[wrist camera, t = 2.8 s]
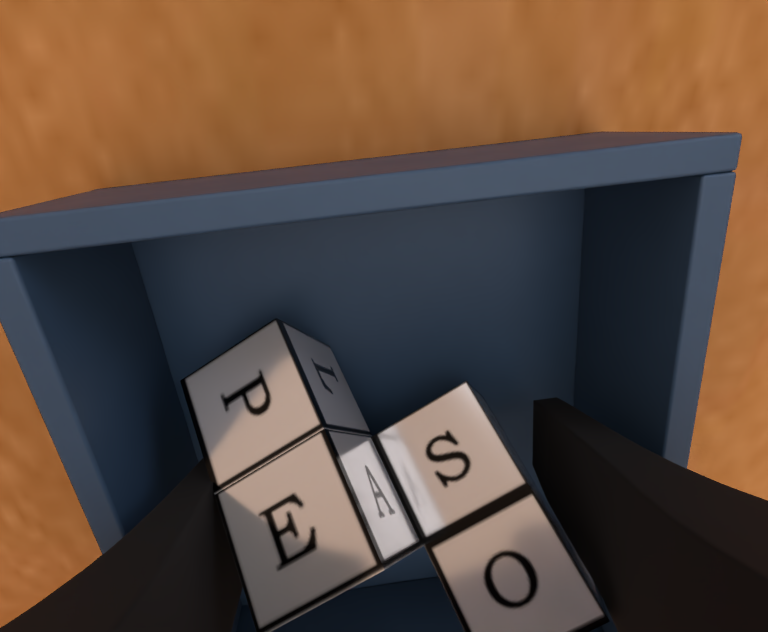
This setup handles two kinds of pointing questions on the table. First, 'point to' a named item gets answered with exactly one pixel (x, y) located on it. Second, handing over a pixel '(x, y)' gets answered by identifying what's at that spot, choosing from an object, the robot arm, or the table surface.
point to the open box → (375, 308)
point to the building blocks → (375, 493)
